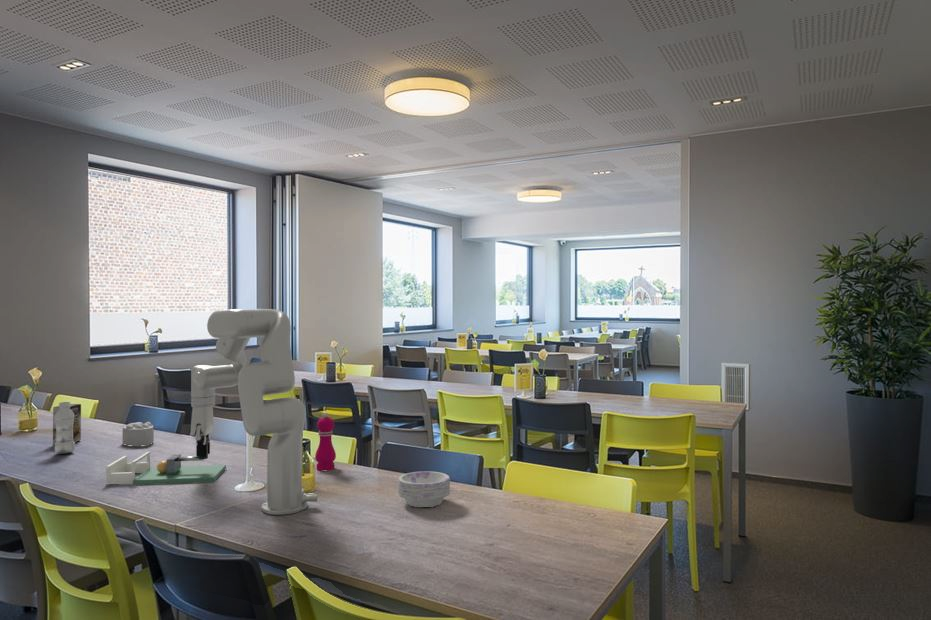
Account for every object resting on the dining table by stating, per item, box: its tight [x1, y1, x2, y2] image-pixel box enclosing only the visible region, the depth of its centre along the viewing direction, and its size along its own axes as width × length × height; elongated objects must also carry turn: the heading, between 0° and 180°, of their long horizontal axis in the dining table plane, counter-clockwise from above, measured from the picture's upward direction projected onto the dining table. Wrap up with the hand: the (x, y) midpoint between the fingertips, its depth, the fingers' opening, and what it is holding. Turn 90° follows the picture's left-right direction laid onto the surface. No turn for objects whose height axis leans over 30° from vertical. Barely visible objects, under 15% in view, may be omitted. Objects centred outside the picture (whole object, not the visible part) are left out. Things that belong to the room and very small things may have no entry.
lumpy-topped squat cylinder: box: [122, 421, 155, 447], centre depth 255 cm, size 10×13×9 cm
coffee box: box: [52, 403, 82, 446], centre depth 255 cm, size 9×6×16 cm
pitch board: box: [132, 464, 227, 486], centre depth 206 cm, size 25×16×2 cm, turn 98°
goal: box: [105, 451, 151, 486], centre depth 203 cm, size 9×14×7 cm, turn 8°
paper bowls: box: [397, 470, 451, 508], centre depth 178 cm, size 15×15×8 cm
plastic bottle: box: [54, 401, 76, 455], centre depth 237 cm, size 6×7×20 cm
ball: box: [156, 460, 167, 473], centre depth 205 cm, size 4×4×4 cm
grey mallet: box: [166, 437, 209, 474], centre depth 206 cm, size 12×7×11 cm, turn 98°
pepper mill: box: [314, 412, 337, 472], centre depth 216 cm, size 7×7×20 cm
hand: (203, 454), depth 207 cm, fingers closed on grey mallet, 2 cm apart
